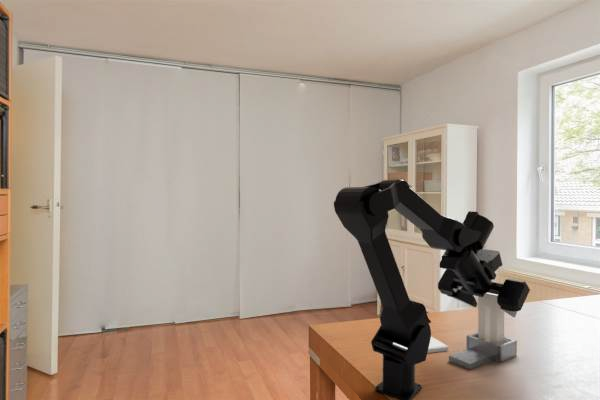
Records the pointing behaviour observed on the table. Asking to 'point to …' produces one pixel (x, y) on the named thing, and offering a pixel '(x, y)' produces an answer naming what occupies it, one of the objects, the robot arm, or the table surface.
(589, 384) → the table surface
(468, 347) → the grey tray with tab
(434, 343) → the external hard drive
